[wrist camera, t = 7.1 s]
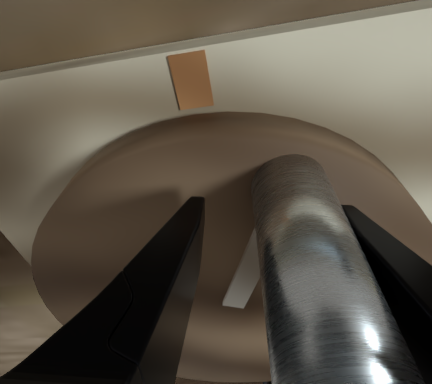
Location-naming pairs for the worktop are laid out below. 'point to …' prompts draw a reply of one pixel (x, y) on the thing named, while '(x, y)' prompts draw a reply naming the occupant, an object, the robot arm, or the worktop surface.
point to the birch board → (223, 99)
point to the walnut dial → (245, 245)
